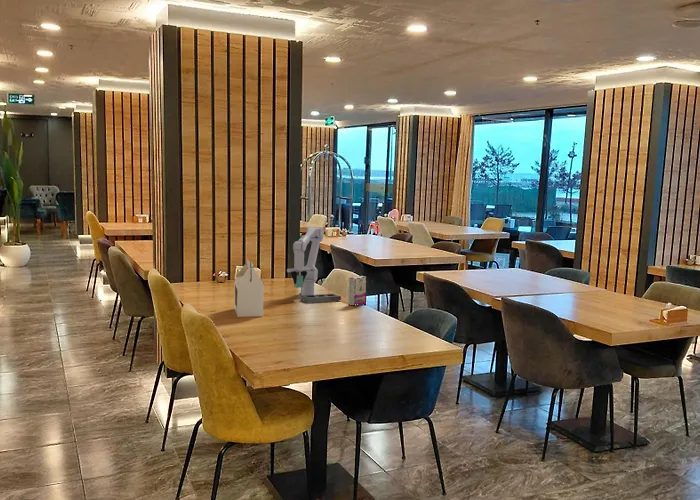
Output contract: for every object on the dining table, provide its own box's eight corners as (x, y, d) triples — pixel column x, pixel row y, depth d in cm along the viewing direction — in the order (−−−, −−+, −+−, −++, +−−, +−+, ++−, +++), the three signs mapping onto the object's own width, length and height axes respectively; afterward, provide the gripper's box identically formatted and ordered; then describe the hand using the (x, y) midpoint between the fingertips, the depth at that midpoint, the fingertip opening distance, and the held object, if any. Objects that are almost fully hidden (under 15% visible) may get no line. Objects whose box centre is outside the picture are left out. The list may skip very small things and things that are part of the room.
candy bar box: (359, 302, 377) (360, 275, 375) (365, 304, 374) (366, 276, 372) (347, 305, 368) (348, 277, 366) (354, 306, 365) (355, 278, 363)
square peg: (294, 286, 383) (294, 275, 382) (300, 286, 385) (300, 275, 384) (296, 287, 379) (297, 276, 379) (302, 287, 381) (303, 275, 380)
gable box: (263, 316, 329) (264, 263, 326) (237, 317, 326) (238, 263, 323) (258, 308, 350) (259, 258, 348) (234, 308, 347) (235, 258, 344)
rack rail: (300, 300, 378) (300, 295, 378) (333, 298, 389) (333, 293, 389) (307, 303, 370) (307, 298, 369) (340, 301, 380) (340, 296, 380)
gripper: (290, 262, 374) (290, 285, 375) (312, 261, 380) (312, 284, 382) (286, 261, 380) (285, 283, 381) (308, 260, 387) (307, 282, 388)
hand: (298, 283), depth 382 cm, fingers closed on square peg, 4 cm apart
